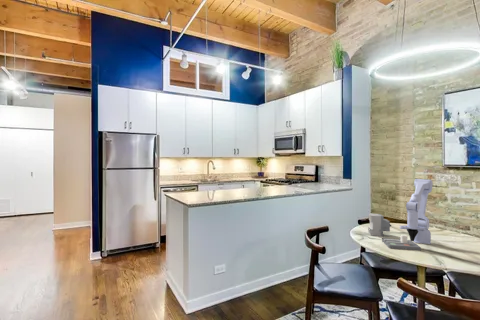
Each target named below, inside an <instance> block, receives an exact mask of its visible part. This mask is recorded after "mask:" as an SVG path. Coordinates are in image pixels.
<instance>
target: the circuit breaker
mask: <svg viewBox="0 0 480 320" xmlns="http://www.w3.org/2000/svg"><path fill="white" fill-rule="evenodd" d="M368 220H369V226H368V231H367V232H368V234H369V235H370V236H374V237H384V232H388V233H389V232H391V227H392V224H391V221H390V220H388V219H386V218H384V215H383V214H380V213H368Z"/></svg>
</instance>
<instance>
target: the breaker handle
mask: <svg viewBox="0 0 480 320" xmlns="http://www.w3.org/2000/svg"><path fill="white" fill-rule="evenodd" d="M399 237H400V239H399V240H400V242H404V243H407V240H408V235H406V234H400V236H399Z"/></svg>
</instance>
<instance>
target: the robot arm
mask: <svg viewBox="0 0 480 320" xmlns="http://www.w3.org/2000/svg"><path fill="white" fill-rule="evenodd" d="M413 185H414V187H415V190H414V193H412V194H411V196H410V198H409V201H407V202H406V205H405V207H406V214H407V217H406V218H407V222H406V223H407V224H406V225H399V230H406V231H407V233H408V236H409V240H411V241H412V242H414V243H415V244H424V245H426V244H427V245H428V244H429V245H431V244H432V242H431V241H432V239H431V238H432V237H431V236H432V234H431V230H429V228H430V220H429V217H427V215H426V211H427V204H428V197H429V196H428V195H429V193H432V192H433V191H432V190H433V185H434V183H433V180H432V179H428V178H427V179H423V178H415V179H414V181H413Z"/></svg>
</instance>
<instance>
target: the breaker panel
mask: <svg viewBox="0 0 480 320" xmlns="http://www.w3.org/2000/svg"><path fill="white" fill-rule="evenodd" d="M381 242H382V243H383V242H384V243H383V244H384V245H386V247H388V249H397V250H408V251H409V250H410V251H411V250H412V251H421V250H422V249H421V246H419V245H418V243H415V242H414V241H411V240H410V239H407V243H404V242H400V239H398V238H397V239H395V238H386V237H385V238H382V239H381Z"/></svg>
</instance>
